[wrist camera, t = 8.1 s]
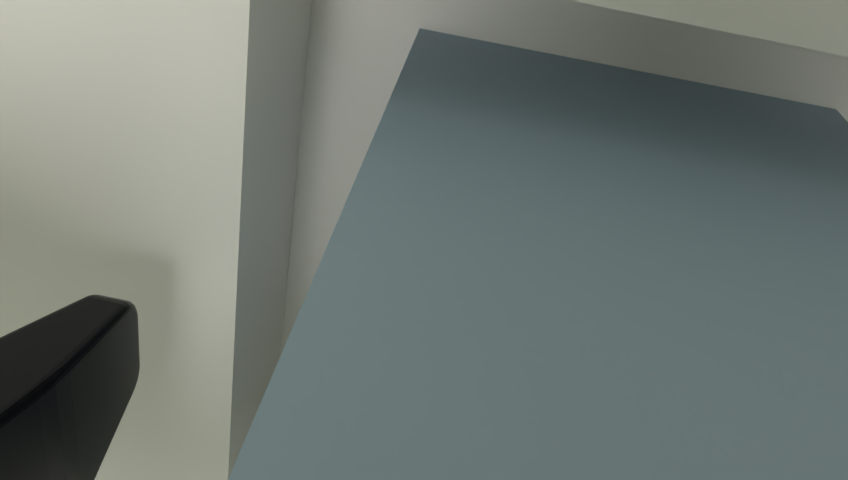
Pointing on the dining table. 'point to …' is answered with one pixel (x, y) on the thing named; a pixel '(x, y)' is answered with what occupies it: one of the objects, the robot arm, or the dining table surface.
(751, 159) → the block
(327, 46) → the well
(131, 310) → the robot arm
